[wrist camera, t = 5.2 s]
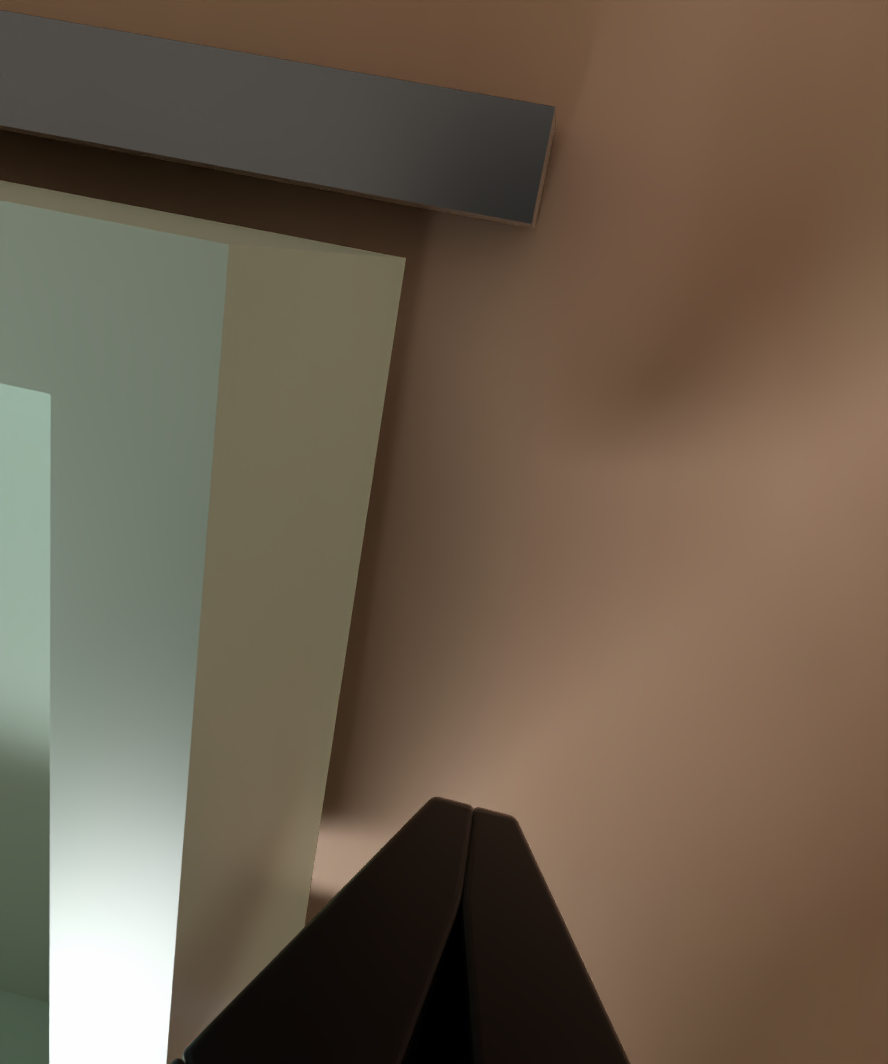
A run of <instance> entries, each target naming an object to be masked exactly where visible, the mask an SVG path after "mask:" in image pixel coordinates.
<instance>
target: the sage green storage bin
mask: <svg viewBox="0 0 888 1064" xmlns="http://www.w3.org/2000/svg"><path fill="white" fill-rule="evenodd" d="M405 262H406V258H403V257H398V256H393V255H388V254H382V253H377V252H372V251H367V250H362V249H356V248H351V247H346V246H341V245H335V244H330V243H325V242H320V241H315V240H309V239H304V238H299V237H294V236H289V235H283V234H278V233H273V232H268V231H262V230H257V229H252V228H247V227H242V226H236V225H231V224H226V223H221V222H216V221H210V220H205V219H200V218H195V217H190V216H184V215H179V214H174V213H169V212H163V211H158V210H153V209H148V208H143V207H137V206H132V205H127V204H122V203H117V202H111V201H106V200H101V199H96V198H90V197H85V196H80V195H75V194H70V193H64V192H59V191H54V190H49V189H44V188H38V187H33V186H28V185H23V184H18V183H12V182H7V181H2V180H0V1064H170V1063H171V1062H172V1061H173V1060H174V1059H176V1058H180V1059H182V1057H183V1052H184V1050H185V1048H186V1047H187V1046H188V1045H189V1044H190V1043H191V1042H192V1041H193V1040H194V1039H195V1038H196V1037H197V1036H198V1035H199V1034H200V1033H201V1032H202V1031H203V1030H204V1029H205V1028H206V1027H207V1026H208V1025H209V1024H210V1023H211V1022H212V1021H213V1020H214V1019H215V1018H216V1017H217V1016H218V1015H219V1014H220V1013H221V1012H222V1011H223V1010H224V1009H225V1008H226V1007H227V1005H228V1004H229V1003H230V1002H231V1001H232V1000H233V999H234V998H235V997H236V996H237V995H238V994H239V993H240V992H241V991H242V990H243V989H244V988H245V987H246V986H247V985H248V984H249V983H250V982H251V981H252V980H253V979H254V978H255V977H256V976H257V975H258V974H259V973H260V972H261V971H262V970H263V969H264V968H265V967H266V966H267V965H268V964H269V963H270V962H271V961H272V960H273V959H274V958H275V957H276V956H277V955H278V954H279V952H280V951H281V950H282V949H283V948H284V947H285V946H286V945H287V944H288V943H289V942H290V941H291V940H292V939H293V938H294V937H295V936H296V935H297V934H298V933H299V932H300V931H301V930H302V929H303V928H304V926H305V920H306V913H307V907H308V900H309V893H310V887H311V880H312V874H313V867H314V860H315V854H316V847H317V841H318V834H319V828H320V821H321V814H322V808H323V801H324V795H325V788H326V782H327V775H328V768H329V762H330V755H331V749H332V742H333V736H334V729H335V722H336V716H337V709H338V703H339V696H340V690H341V683H342V676H343V670H344V663H345V657H346V650H347V643H348V637H349V630H350V624H351V617H352V611H353V604H354V597H355V591H356V584H357V578H358V571H359V565H360V558H361V551H362V545H363V538H364V532H365V525H366V519H367V512H368V505H369V499H370V492H371V486H372V479H373V473H374V466H375V459H376V453H377V446H378V440H379V433H380V426H381V420H382V413H383V407H384V400H385V394H386V387H387V380H388V374H389V367H390V361H391V354H392V348H393V341H394V334H395V328H396V321H397V315H398V308H399V302H400V295H401V288H402V282H403V275H404V269H405Z"/></svg>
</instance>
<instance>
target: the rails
mask: <svg viewBox="0 0 888 1064" xmlns="http://www.w3.org/2000/svg"><path fill="white" fill-rule="evenodd" d="M555 128H556V113H555V107H553V106H548V105H542V104H536V103H530V102H525V101H519V100H513V99H507V98H502V97H496V96H490V95H485V94H479V93H473V92H467V91H462V90H456V89H450V88H444V87H439V86H433V85H427V84H421V83H416V82H410V81H404V80H399V79H393V78H387V77H381V76H376V75H370V74H364V73H358V72H353V71H347V70H341V69H335V68H330V67H324V66H318V65H313V64H307V63H301V62H295V61H290V60H284V59H278V58H272V57H267V56H261V55H255V54H249V53H244V52H238V51H232V50H227V49H221V48H215V47H209V46H204V45H198V44H192V43H186V42H181V41H175V40H169V39H164V38H158V37H152V36H146V35H141V34H135V33H129V32H123V31H118V30H112V29H106V28H100V27H95V26H89V25H83V24H78V23H72V22H66V21H60V20H55V19H49V18H43V17H37V16H32V15H26V14H20V13H14V12H9V11H3V10H0V130H6V131H11V132H16V133H22V134H27V135H33V136H38V137H43V138H49V139H54V140H59V141H65V142H70V143H75V144H81V145H86V146H91V147H97V148H102V149H108V150H113V151H118V152H124V153H129V154H134V155H140V156H145V157H150V158H156V159H161V160H166V161H172V162H177V163H183V164H188V165H193V166H199V167H204V168H209V169H215V170H220V171H225V172H231V173H236V174H241V175H247V176H252V177H258V178H263V179H268V180H274V181H279V182H284V183H290V184H295V185H300V186H306V187H311V188H316V189H322V190H327V191H333V192H338V193H343V194H349V195H354V196H359V197H365V198H370V199H375V200H381V201H386V202H391V203H397V204H402V205H408V206H413V207H418V208H424V209H429V210H434V211H440V212H445V213H450V214H456V215H461V216H466V217H472V218H477V219H483V220H488V221H493V222H499V223H504V224H509V225H515V226H520V227H525V228H531V229H535V226H536V221H537V216H538V211H539V206H540V201H541V196H542V191H543V187H544V182H545V177H546V172H547V167H548V162H549V157H550V152H551V147H552V142H553V138H554V133H555Z"/></svg>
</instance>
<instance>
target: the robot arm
mask: <svg viewBox="0 0 888 1064" xmlns="http://www.w3.org/2000/svg"><path fill="white" fill-rule="evenodd" d="M170 1064H630V1062H629V1060H628V1058H627V1056H626V1054H625V1051H624V1049H623V1047H622V1045H621V1043H620V1041H619V1039H618V1036H617V1034H616V1032H615V1030H614V1028H613V1026H612V1023H611V1021H610V1019H609V1017H608V1015H607V1013H606V1011H605V1008H604V1006H603V1004H602V1002H601V1000H600V998H599V996H598V993H597V991H596V989H595V987H594V985H593V983H592V980H591V978H590V976H589V974H588V972H587V970H586V968H585V965H584V963H583V961H582V959H581V957H580V955H579V952H578V950H577V948H576V946H575V944H574V942H573V940H572V937H571V935H570V933H569V931H568V929H567V927H566V925H565V922H564V920H563V918H562V916H561V914H560V912H559V909H558V907H557V905H556V903H555V901H554V899H553V897H552V894H551V892H550V890H549V888H548V886H547V884H546V882H545V879H544V877H543V875H542V873H541V871H540V869H539V866H538V864H537V862H536V860H535V858H534V856H533V854H532V851H531V849H530V847H529V845H528V843H527V841H526V839H525V836H524V834H523V832H522V830H521V828H520V826H519V823H518V822H517V820H516V819H515V818H514V817H513V816H510V815H507V814H503V813H500V812H496V811H492V810H488V809H484V808H479V807H477V808H474V809H473V807H472V806H470V805H468V804H465V803H461V802H457V801H453V800H449V799H445V798H441V797H434V798H431V799H430V800H429V801H428V802H427V803H426V804H425V805H424V806H423V807H422V808H421V809H420V810H419V811H418V812H417V813H416V814H415V815H414V816H413V817H412V818H411V819H410V820H409V821H408V822H407V823H406V824H405V825H404V826H403V827H402V828H401V829H400V830H399V831H398V832H397V833H396V834H395V835H394V836H393V837H392V838H391V839H390V840H389V841H388V842H387V843H386V844H385V846H384V847H383V848H382V849H381V850H380V851H379V852H378V853H377V854H376V855H375V856H374V857H373V858H372V859H371V860H370V861H369V862H368V863H367V864H366V865H365V866H364V867H363V868H362V869H361V870H360V871H359V872H358V873H357V874H356V875H355V876H354V877H353V878H352V879H351V880H350V881H349V882H348V883H347V884H346V885H345V886H344V887H343V888H342V889H341V890H340V891H339V892H338V893H337V894H336V895H335V896H334V897H333V898H332V900H331V901H330V902H329V903H328V904H327V905H326V906H325V907H324V908H323V909H322V910H321V911H320V912H319V913H318V914H317V915H316V916H315V917H314V918H313V919H312V920H311V921H310V922H309V923H308V924H307V925H306V926H305V927H304V928H303V929H302V930H301V931H300V932H299V933H298V934H297V935H296V936H295V937H294V938H293V939H292V940H291V941H290V942H289V943H288V944H287V945H286V946H285V947H284V948H283V949H282V950H281V951H280V952H279V954H278V955H277V956H276V957H275V958H274V959H273V960H272V961H271V962H270V963H269V964H268V965H267V966H266V967H265V968H264V969H263V970H262V971H261V972H260V973H259V974H258V975H257V976H256V977H255V978H254V979H253V980H252V981H251V982H250V983H249V984H248V985H247V986H246V987H245V988H244V989H243V990H242V991H241V992H240V993H239V994H238V995H237V996H236V997H235V998H234V999H233V1000H232V1001H231V1002H230V1003H229V1004H228V1005H227V1007H226V1008H225V1009H224V1010H223V1011H222V1012H221V1013H220V1014H219V1015H218V1016H217V1017H216V1018H215V1019H214V1020H213V1021H212V1022H211V1023H210V1024H209V1025H208V1026H207V1027H206V1028H205V1029H204V1030H203V1031H202V1032H201V1033H200V1034H199V1035H198V1036H197V1037H196V1038H195V1039H194V1040H193V1041H192V1042H191V1043H190V1044H189V1045H188V1046H187V1047H186V1048H185V1050H184V1052H183V1057H182V1059H180V1058H176V1059H174V1060H173V1061H172V1062H171V1063H170Z"/></svg>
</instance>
